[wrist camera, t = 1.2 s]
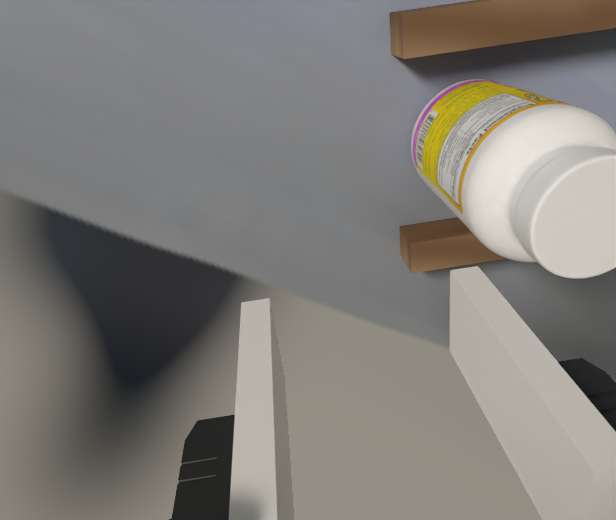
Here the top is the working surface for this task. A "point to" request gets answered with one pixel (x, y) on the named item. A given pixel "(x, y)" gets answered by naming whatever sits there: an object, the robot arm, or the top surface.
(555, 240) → the supplement bottle
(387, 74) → the top surface
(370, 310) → the top surface
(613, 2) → the wooden frame
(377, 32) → the top surface
